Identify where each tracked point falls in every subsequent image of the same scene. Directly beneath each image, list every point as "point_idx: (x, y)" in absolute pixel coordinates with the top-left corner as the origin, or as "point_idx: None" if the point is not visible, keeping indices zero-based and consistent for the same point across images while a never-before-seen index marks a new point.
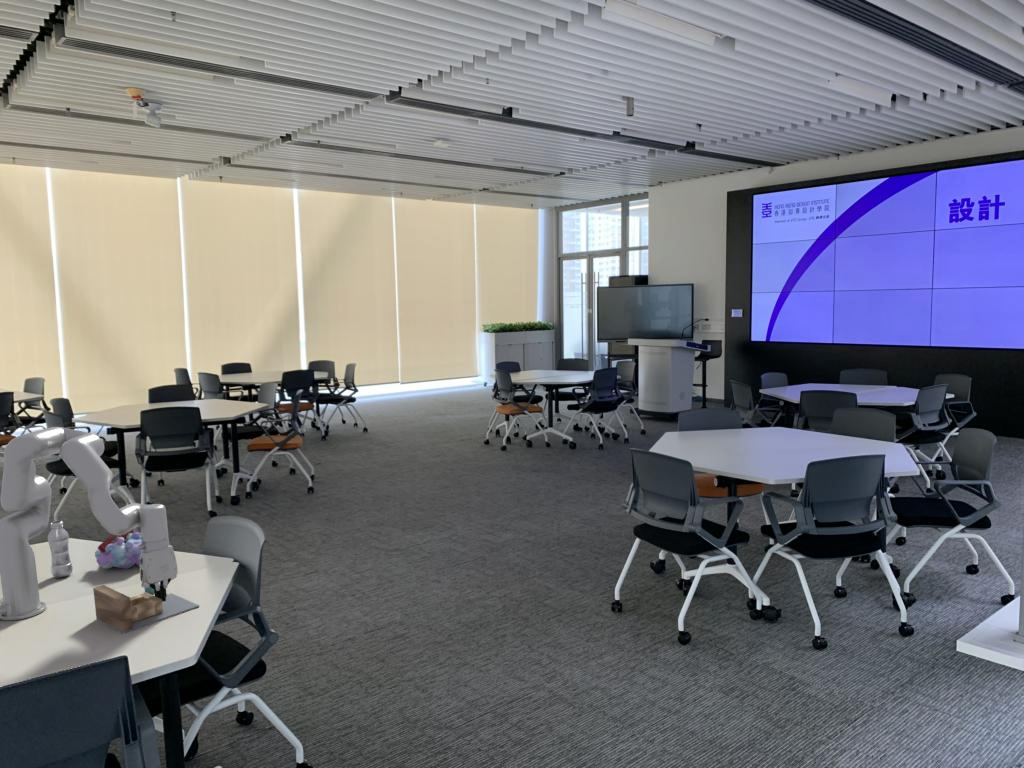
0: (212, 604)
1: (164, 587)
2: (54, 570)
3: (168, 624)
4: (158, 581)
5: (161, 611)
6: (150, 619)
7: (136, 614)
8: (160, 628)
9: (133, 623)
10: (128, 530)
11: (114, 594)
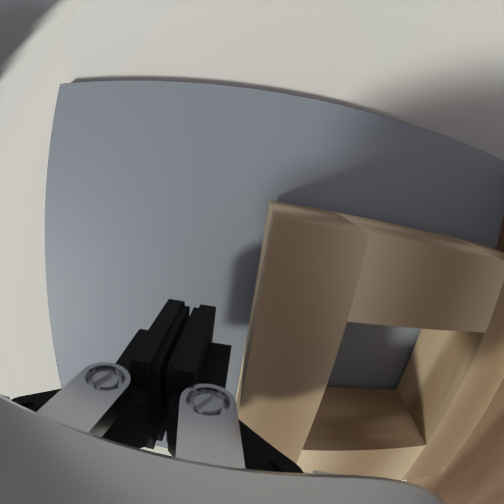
0: (22, 62)
1: (121, 381)
2: None
3: (364, 12)
4: (213, 465)
5: (283, 204)
6: (396, 179)
7: (481, 249)
8: (422, 19)
9: (473, 234)
10: None
11: None
